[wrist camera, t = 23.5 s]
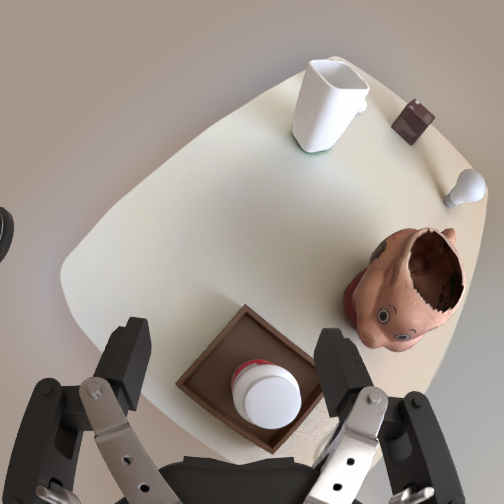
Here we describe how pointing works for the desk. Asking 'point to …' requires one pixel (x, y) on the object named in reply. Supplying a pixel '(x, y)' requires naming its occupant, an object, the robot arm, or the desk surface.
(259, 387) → the pill bottle
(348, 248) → the desk surface
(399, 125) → the box
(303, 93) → the cup
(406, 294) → the pink face mug
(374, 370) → the desk surface
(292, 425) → the tray
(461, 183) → the lightbulb
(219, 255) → the desk surface
